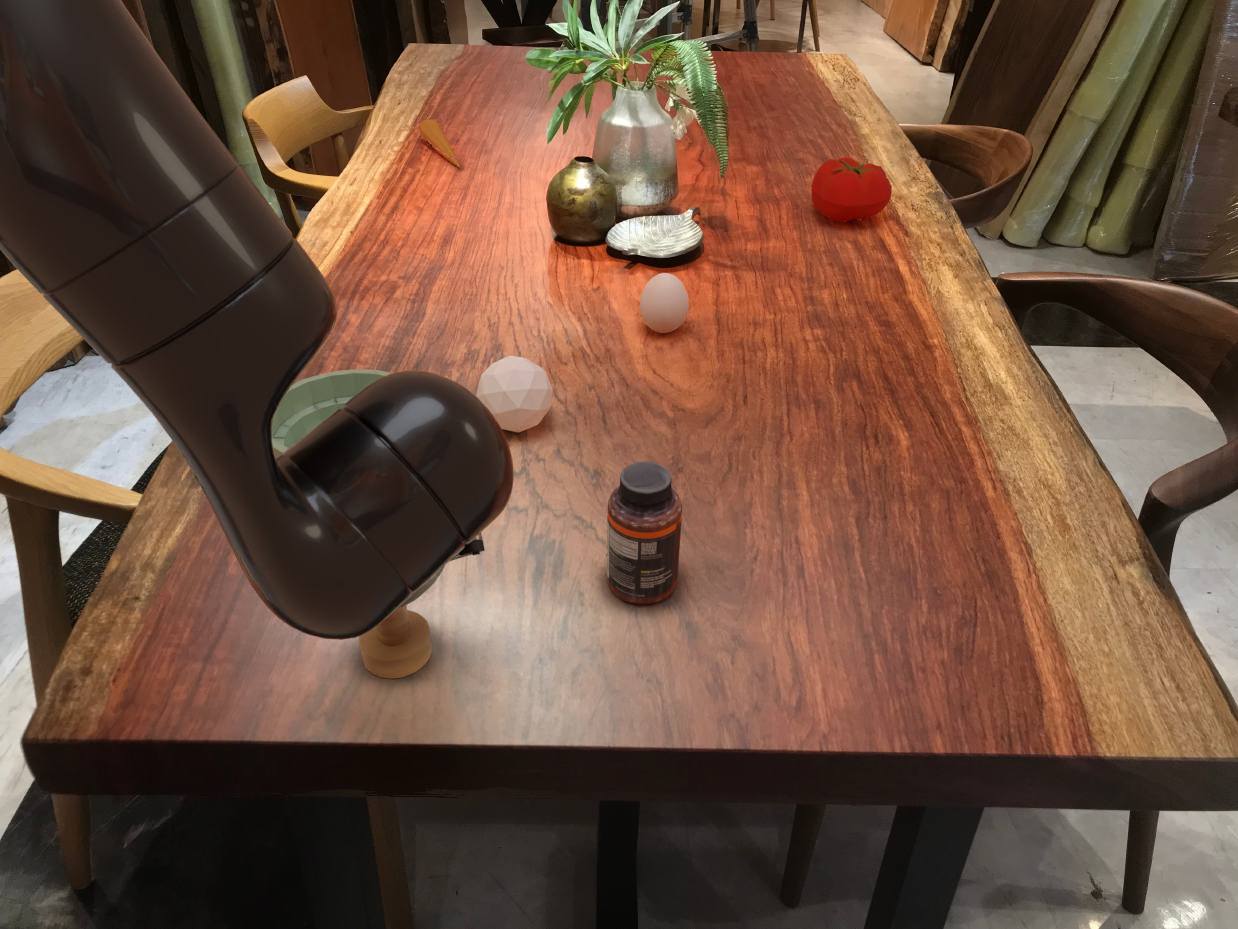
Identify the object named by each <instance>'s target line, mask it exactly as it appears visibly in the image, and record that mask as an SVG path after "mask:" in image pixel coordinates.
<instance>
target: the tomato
mask: <svg viewBox="0 0 1238 929" xmlns="http://www.w3.org/2000/svg"><path fill="white" fill-rule="evenodd" d="M891 184H892V183H891V182H890V180H889V178H888V176H887V174H886V172H885V170H884V169H883V167H882V166H881V165H876V164H874V163H866V164H860V162H859V161H857V160H855V159H854V158H852V157H840V158H839V159H833V158H829V159H828V160H826V161H825V162H824V163H822V164H821V165H820V166H819V167H818V169H817V171H816V172H815V174H814V175H813V179H812V182H811V192H810V193H811V200H812V204H813V207H814V209H815V210H816V211H817V212H818V213H820V214H821V215H823V216H825V218H827V219H829V220H830V221H834V222H835V223H848V222H850V221H865V220H868V219H870V218H872V217H874V216H876V215H879V213H882V211H883V210H884V209H885V208H886V207H887V205H888V204H889V203H890V200H891V197H892V191H893V190H892V187H893V186H892V185H891ZM860 219H861V220H860ZM845 221H846V222H845Z"/></svg>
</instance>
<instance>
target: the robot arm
mask: <svg viewBox="0 0 1238 929" xmlns="http://www.w3.org/2000/svg"><path fill="white" fill-rule="evenodd" d="M131 14H132V13H130V11H129V10H128V8H127V7H126V5H125V4H124V2H123V0H0V251H1V252H2V254H3V255H4V256H5V258H7V259H8V261H9V262H11V264H12V265H13V267H15V268H16V270H18V271H19V273H20V274H21V275H22V276H23V277H24V278H25V279H26V280H27V281H28V282H29V283H30V284H31V286H33V288H35V289H36V291H37V292H38V293H39V294H42V297H43V298H44V299H45V301H47V303H49V304H50V306H51V307H53V309H54V310H55V311H56V312H57V313H58V314H59V315H60V316H61V317H62V318H63V319H64V321H66V322H67V323H68V324H69V325H70V327H72V328H73V329H74V330H75V332H76V333H77V334H78V335H80V337H81V338H82V339H83V340H84V341H85V342H86V343H87V344H88V345H89V346H90V347H91V348H92V349H93V350H94V351H95V352H96V353H97V354H98V356H99V357H101V358H102V360H103V361H105V363H107V364H109V365H110V364H111V366H110V367H111V369H112V370H113V371H114V372H115V373H116V374H117V375H118V377H120V379H121V380H122V381H123V382H124V383H125V384H126V385H127V386H128V388H130V389H131V391H132V392H133V393H134V394H135V396H137V398H138V399H139V400H140V401H141V402H142V403H143V405H144V406H145V407H146V408H147V409H148V411H149V412H150V413H151V414H152V416H153V417H154V418H155V420H156V421H157V423H158V424H159V425H160V426H161V428H163V430H164V431H165V433H166V434H167V435H168V437H169V438H170V439H171V441H172V442H173V444H174V445H175V447H176V448H177V450H178V451H179V453H180V455H181V456H182V458H183V459H184V462H186V464H187V465H188V467H189V469H190V470H191V472H192V474H193V476H194V478H195V479H196V481H197V483H198V484H199V486H200V488H201V490H202V492H203V493H204V495H205V497H206V499H207V500H208V503H209V505H210V507H211V509H212V511H213V513H214V515H215V517H216V519H217V521H218V522H219V526H220V527H221V529H222V532H223V533H224V535H225V538H226V540H227V542H228V544H229V546H230V548H231V550H232V552H233V554H234V556H235V557H236V561H237V562H238V564H239V566H240V568H241V570H242V571H243V573H244V575H245V578H246V579H247V581H248V582H249V584H250V585H251V587H252V588H253V590H254V591H255V593H256V594H257V596H258V597H259V598H260V600H261V601H262V602H263V604H264V605H265V606H266V607H267V609H269V610H270V611H271V612H272V614H273V615H274V616H276V617H277V618H278V619H280V620H281V621H282V622H283V623H285V625H287V626H289V627H291V628H292V629H294V630H296V631H299V632H300V633H303V634H304V635H305V634H306V635H308V636H312V637H316V638H320V639H324V640H337V641H339V640H340V641H343V640H350V639H356V638H359V636H361V635H364V634H366V633H368V632H369V631H371V630H372V629H374V628H375V627H377V626H378V625H380V624H381V623H382V622H383V621H384V620H386V619H387V618H388V617H389V616H390V615H391V614H392V613H394V612H395V611H396V610H397V609H398V608H400V607H403V606H405V605H409V604H412V602H415V601H416V600H417V599H419V598H420V597H421V596H423V594H425V593H426V592H427V591H428V590H429V589H430V588H431V587H432V586H433V585H434V584H435V583H436V581H437V580H438V579H439V578H440V576H441V574H442V572H443V571H444V569H445V567H446V565H447V564H448V563H449V562H452V561H455V560H459V559H462V558H466V557H469V556H477V555H481V553H482V552H485V550H486V549H485V544H484V540H483V535H482V532H484V531H485V530H486V529H487V528H488V527H489V526H490V525H491V524H492V523H493V522H495V520H496V519H497V518H498V517H499V516H500V515H501V513H503V512H504V510H505V509H506V507H507V505H508V503H509V502H510V500H511V496H512V493H513V488H514V478H515V475H514V474H515V472H514V471H515V470H514V462H513V456H512V452H511V449H510V446H509V442H508V439H507V438H506V435H505V433H504V431H503V429H501V427H500V425H499V424H498V422H497V420H496V419H495V417H494V416H493V414H492V413H491V412H490V410H489V409H488V408H487V407H486V406H485V405H484V404H483V403H482V402H481V401H480V399H479V398H478V397H476V394H474V393H473V392H472V391H470V390H469V389H468V388H466V386H464V385H462V384H460V383H458V382H457V381H455V380H453V379H451V378H449V377H446V376H443V375H441V374H438V373H435V372H431V371H428V370H427V371H426V370H402V371H397V372H391V373H392V374H389V375H386V376H384V377H382V378H380V379H378V380H376V381H374V382H373V383H371V384H370V385H368V386H367V387H365V388H364V389H362V390H361V391H360V392H359V393H357V394H356V395H355V396H354V397H352V398H351V399H350V400H349V401H347V402H346V403H345V404H344V405H343V407H342V409H338V410H337V411H336V412H334V413H333V414H332V415H330V416H329V417H328V418H327V419H325V420H324V421H323V422H322V423H320V424H319V425H318V426H317V427H315V428H314V429H313V430H312V431H310V432H309V433H308V434H307V435H305V436H304V437H303V438H302V439H300V440H299V441H298V442H297V443H295V444H294V445H293V446H291V447H290V448H289V449H288V450H286V451H285V452H284V455H280V456H279V457H277V458H276V459H275V456H274V451H273V445H272V423H273V418H274V414H275V412H276V410H277V408H278V407H279V405H280V403H281V401H282V399H283V397H284V396H285V394H286V393H287V391H288V390H289V389H290V387H291V386H292V384H294V383H295V382H296V380H297V379H298V378H299V377H300V376H301V374H303V372H304V370H305V369H306V368H307V367H308V365H309V364H310V363H311V362H312V361H313V359H314V358H315V357H316V355H317V354H318V353H319V351H321V349H322V347H323V346H324V344H326V341H327V340H328V338H329V337H330V335H331V333H332V332H333V330H334V327H335V325H336V322H337V318H338V303H337V301H336V297H335V294H334V292H333V290H332V288H331V286H330V285H329V283H328V281H327V280H326V277H325V276H324V275H323V273H322V272H321V270H320V269H319V267H318V266H317V265H316V264H315V262H314V260H313V259H312V258H311V257H310V255H309V254H308V252H307V251H306V250H305V249H304V247H303V246H302V245H301V243H300V241H298V239H296V238H295V237H293V233H292V231H291V230H290V229H289V228H288V226H287V225H286V224H285V223H284V221H283V219H281V217H280V216H279V215H278V213H277V212H276V210H275V209H274V208H273V207H272V205H271V204H270V203H269V201H268V200H267V198H266V197H265V196H264V195H263V193H262V192H261V191H260V189H259V188H258V187H257V186H256V184H255V183H254V181H253V180H252V179H251V177H250V176H249V175H248V174H247V172H246V171H245V170H244V168H243V167H242V166H241V165H239V162H238V161H237V159H236V157H235V156H233V154H232V153H231V151H230V150H229V149H228V148H227V146H226V145H225V143H224V141H223V140H221V138H220V137H219V135H218V134H217V133H216V132H215V130H214V129H213V127H211V125H210V124H209V123H208V121H207V120H206V119H205V117H204V116H203V115H202V113H201V112H200V111H199V110H198V108H197V107H196V105H195V104H194V102H193V101H192V99H191V98H190V97H189V96H188V95H187V92H185V90H184V89H183V87H182V86H181V84H180V83H179V81H178V80H177V79H176V77H175V76H174V75H173V73H172V72H171V70H170V69H169V68H168V66H167V65H166V63H165V62H164V61H163V60H162V58H161V57H160V56H159V54H158V52H157V51H156V49H155V48H154V47H153V45H152V44H151V42H150V41H149V39H148V38H147V36H146V35H145V33H144V31H143V30H142V29H141V27H140V26H139V24H138V23H137V21H136V20H135V18H134V17H133V16H132V15H131Z"/></svg>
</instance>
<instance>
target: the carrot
mask: <svg viewBox="0 0 1238 929" xmlns="http://www.w3.org/2000/svg"><path fill="white" fill-rule="evenodd" d="M418 128H419V130H418V131H419V136H420V135H421V136H422V137H424V138H425V139H426V140H428V141H429V142H430V143H432V144H433V145H434V146H435V147H437V148H438V149H440V150H441V151H442V152H444V153H446V154H447V155H449V156H451V157H452V158H455V155H456V152H455V151H454V148H453V147H452V145H451V143H450V141H449V139H448V137H447V134H446V133H445V131H444V129H443V128H442V125H441V124H440V123H438V122H437V121H436V120H435V119H432V118H430V119H429V118H428V119H423V120H422V122H420V124H419V125H418ZM428 145H429V146H431V145H430V144H428ZM431 147H432V148H433V149H434V150H435V151H436V152H438V154H440V155H441V156H442V157H444V158H445V159H446V161H448V162H450V163H451V164H452V165H454V166H456V167H457V168H459V169H461V165H460V163H459V159H458V158H457V157H456V160H453V159H451V158H449V157H447V156H446V155H444V154H443V153H441V152H440V151H438V150H437V149H435V148H434V147H433V146H431Z"/></svg>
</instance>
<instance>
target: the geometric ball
mask: <svg viewBox="0 0 1238 929" xmlns="http://www.w3.org/2000/svg"><path fill="white" fill-rule="evenodd" d="M553 395H554V388H553V387H552V384H551V381H550V379H549V376H548V375H547V372H546V369H544V368H543V367H542V366H539V365H538V364H536V363H535V362H534V361H532V360H530V359H528V358H526V357H522V356H517V355H508V356H505V357H504V358H500V359H498V360H496V361H494V362H492V363H490V365H489V366H488V367H486V369H485V370H484V371H483V372H482V374H481V375H480V378H479V381H478V385H477V389H476V394H475V396H476V397H478V398H479V399H480V401H481V402H482V403H483V404H484V405H485V406H486V407H487V408H488V409H489V410H490V412H491V413H492V414H493V416H494V417H495V419H496V420H497V422H498V424H499V425H500V427H501V429H502V430H505V431H509V432H513V433H521V432H523V431H526V430H529V429H531V428H534V427H535V426H538V425H539V423H540V422H541V421H542V420H543V418H545V416H547V414H548V412H549V410H550V409H551V407H552V406H551V405H552V400H553Z"/></svg>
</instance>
